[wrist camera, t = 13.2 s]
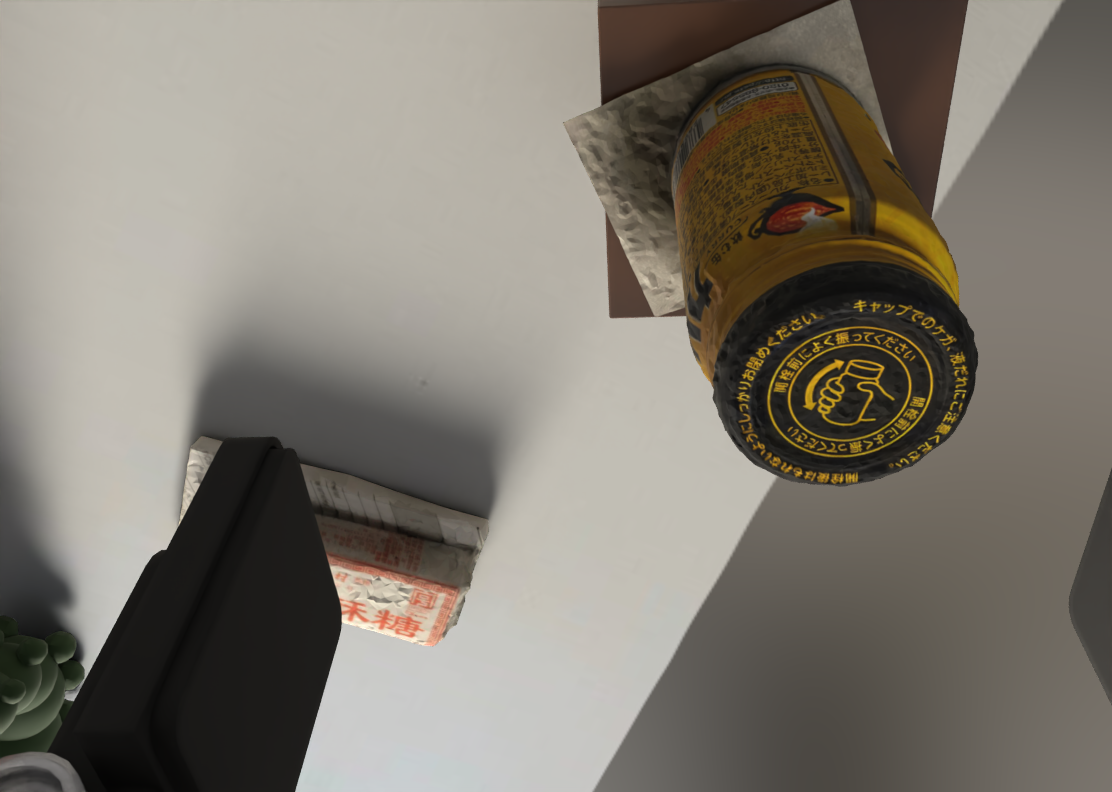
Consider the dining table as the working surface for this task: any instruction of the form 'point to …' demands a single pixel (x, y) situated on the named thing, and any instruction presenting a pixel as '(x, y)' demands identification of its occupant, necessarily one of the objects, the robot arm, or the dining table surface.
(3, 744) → the toy figurine
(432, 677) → the dining table surface
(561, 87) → the dining table surface
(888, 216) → the condiment
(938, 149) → the stand
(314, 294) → the dining table surface
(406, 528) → the packaged product
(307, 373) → the dining table surface
